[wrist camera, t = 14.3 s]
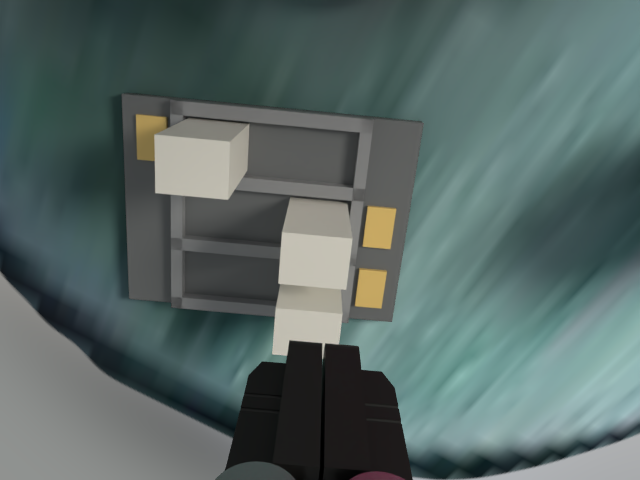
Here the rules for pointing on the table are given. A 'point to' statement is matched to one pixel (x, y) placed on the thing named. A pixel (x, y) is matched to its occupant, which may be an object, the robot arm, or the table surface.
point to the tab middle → (316, 244)
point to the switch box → (267, 205)
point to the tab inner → (201, 158)
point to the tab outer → (306, 316)
